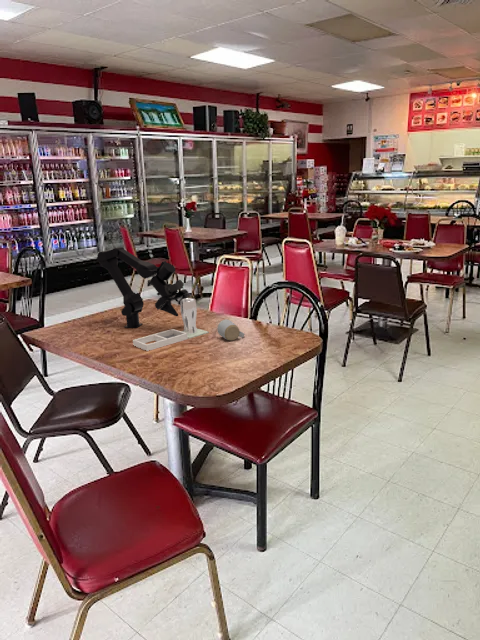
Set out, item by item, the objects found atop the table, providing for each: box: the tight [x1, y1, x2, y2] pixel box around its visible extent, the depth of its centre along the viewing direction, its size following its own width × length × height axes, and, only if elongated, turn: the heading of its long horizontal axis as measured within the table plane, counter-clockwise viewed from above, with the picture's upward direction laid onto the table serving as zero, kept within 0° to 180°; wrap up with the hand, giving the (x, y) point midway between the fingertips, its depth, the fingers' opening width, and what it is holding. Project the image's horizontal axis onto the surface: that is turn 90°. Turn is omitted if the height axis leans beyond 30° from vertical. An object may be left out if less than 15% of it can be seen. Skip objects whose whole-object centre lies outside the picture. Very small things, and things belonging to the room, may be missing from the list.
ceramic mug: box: [216, 319, 245, 342], centre depth 204 cm, size 11×8×8 cm
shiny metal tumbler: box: [180, 297, 198, 335], centre depth 212 cm, size 7×7×15 cm
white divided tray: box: [132, 327, 210, 352], centre depth 207 cm, size 32×11×2 cm, turn 133°
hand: (183, 313), depth 213 cm, fingers open, 9 cm apart
